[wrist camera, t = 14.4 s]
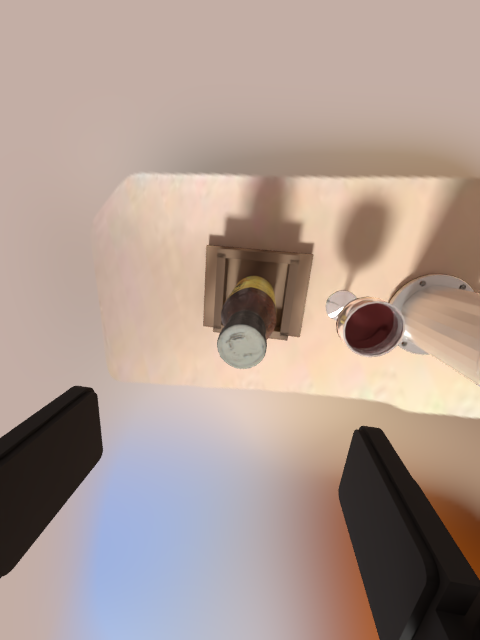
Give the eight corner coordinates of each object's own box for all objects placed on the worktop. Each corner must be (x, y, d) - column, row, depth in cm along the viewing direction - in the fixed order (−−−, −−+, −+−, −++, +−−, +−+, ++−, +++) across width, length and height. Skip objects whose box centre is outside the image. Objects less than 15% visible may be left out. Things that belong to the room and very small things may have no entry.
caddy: (311, 254, 37) (317, 255, 32) (298, 334, 41) (302, 344, 36) (208, 245, 38) (201, 244, 34) (205, 323, 42) (198, 332, 37)
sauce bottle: (239, 270, 37) (211, 292, 18) (279, 279, 37) (292, 312, 18) (230, 310, 39) (196, 368, 20) (268, 319, 39) (269, 386, 20)
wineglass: (368, 318, 39) (411, 348, 27) (325, 331, 40) (349, 364, 28) (358, 278, 37) (399, 292, 26) (314, 293, 38) (335, 311, 27)
